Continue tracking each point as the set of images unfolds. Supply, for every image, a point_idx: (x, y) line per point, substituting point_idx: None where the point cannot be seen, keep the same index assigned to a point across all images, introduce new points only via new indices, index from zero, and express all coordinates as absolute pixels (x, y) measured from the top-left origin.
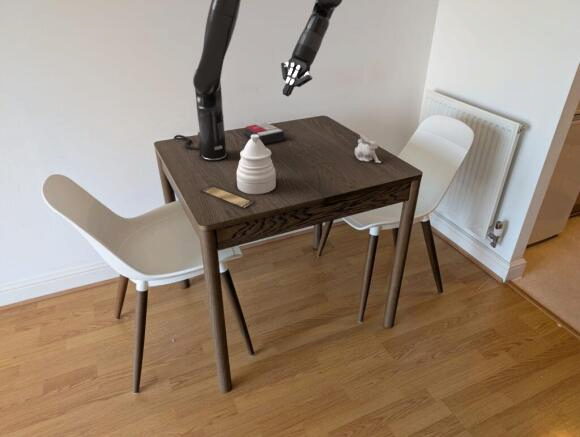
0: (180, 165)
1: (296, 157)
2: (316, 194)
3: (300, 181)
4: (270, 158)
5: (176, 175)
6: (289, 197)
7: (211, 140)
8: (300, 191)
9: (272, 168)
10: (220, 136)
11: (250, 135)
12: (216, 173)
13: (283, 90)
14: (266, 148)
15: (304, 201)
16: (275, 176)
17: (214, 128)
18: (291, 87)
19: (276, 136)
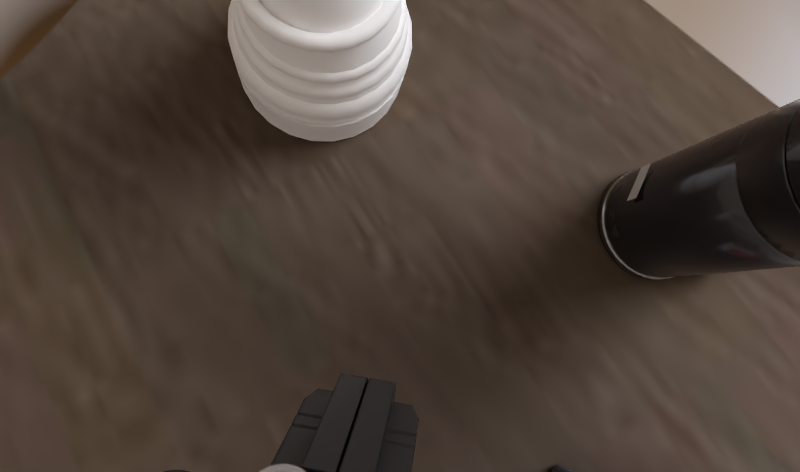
0: (695, 85)
1: None
2: (35, 97)
3: (162, 178)
4: (269, 56)
5: (643, 7)
6: (138, 26)
7: (686, 150)
8: (117, 92)
9: (234, 27)
10: (672, 186)
11: None
12: (529, 85)
13: (403, 417)
14: (290, 29)
15: (61, 21)
16: (242, 78)
17: (723, 143)
18: (275, 461)
19: None
